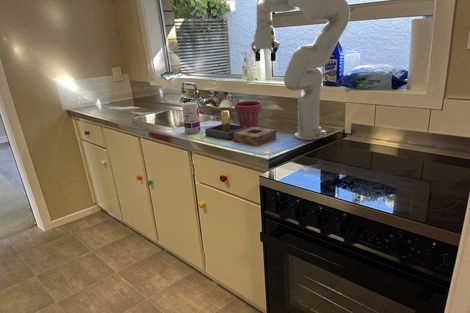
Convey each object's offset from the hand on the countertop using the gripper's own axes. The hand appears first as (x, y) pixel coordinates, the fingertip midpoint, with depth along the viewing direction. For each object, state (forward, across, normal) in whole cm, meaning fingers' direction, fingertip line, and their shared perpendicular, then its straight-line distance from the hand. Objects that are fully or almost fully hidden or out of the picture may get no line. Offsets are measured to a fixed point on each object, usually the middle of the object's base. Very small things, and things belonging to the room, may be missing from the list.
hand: (265, 61), depth 175 cm
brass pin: (+32, +6, +25) cm, 41 cm away
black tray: (+33, +6, +25) cm, 42 cm away
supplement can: (+34, +26, +30) cm, 52 cm away
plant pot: (+34, +6, +8) cm, 35 cm away
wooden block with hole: (+33, -12, +25) cm, 43 cm away
